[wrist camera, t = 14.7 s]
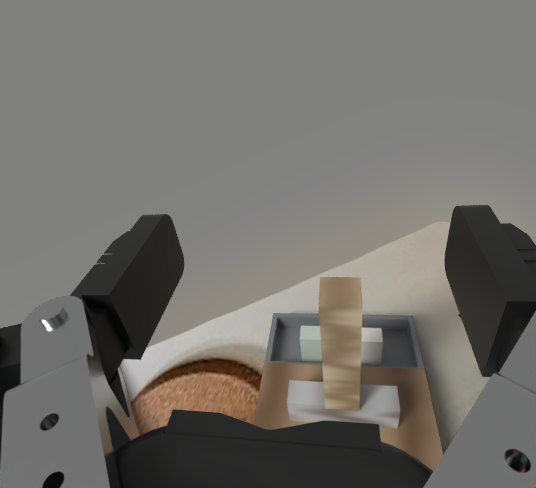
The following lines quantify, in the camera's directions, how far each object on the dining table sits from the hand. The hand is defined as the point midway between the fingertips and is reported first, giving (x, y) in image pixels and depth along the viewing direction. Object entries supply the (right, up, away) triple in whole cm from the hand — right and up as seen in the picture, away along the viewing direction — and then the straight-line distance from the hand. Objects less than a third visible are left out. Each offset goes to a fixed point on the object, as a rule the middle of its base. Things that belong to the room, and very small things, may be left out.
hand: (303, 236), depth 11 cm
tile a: (+10, -13, +32) cm, 35 cm away
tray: (+8, -14, +35) cm, 38 cm away
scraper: (+6, -17, +26) cm, 31 cm away
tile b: (+5, -13, +33) cm, 35 cm away
